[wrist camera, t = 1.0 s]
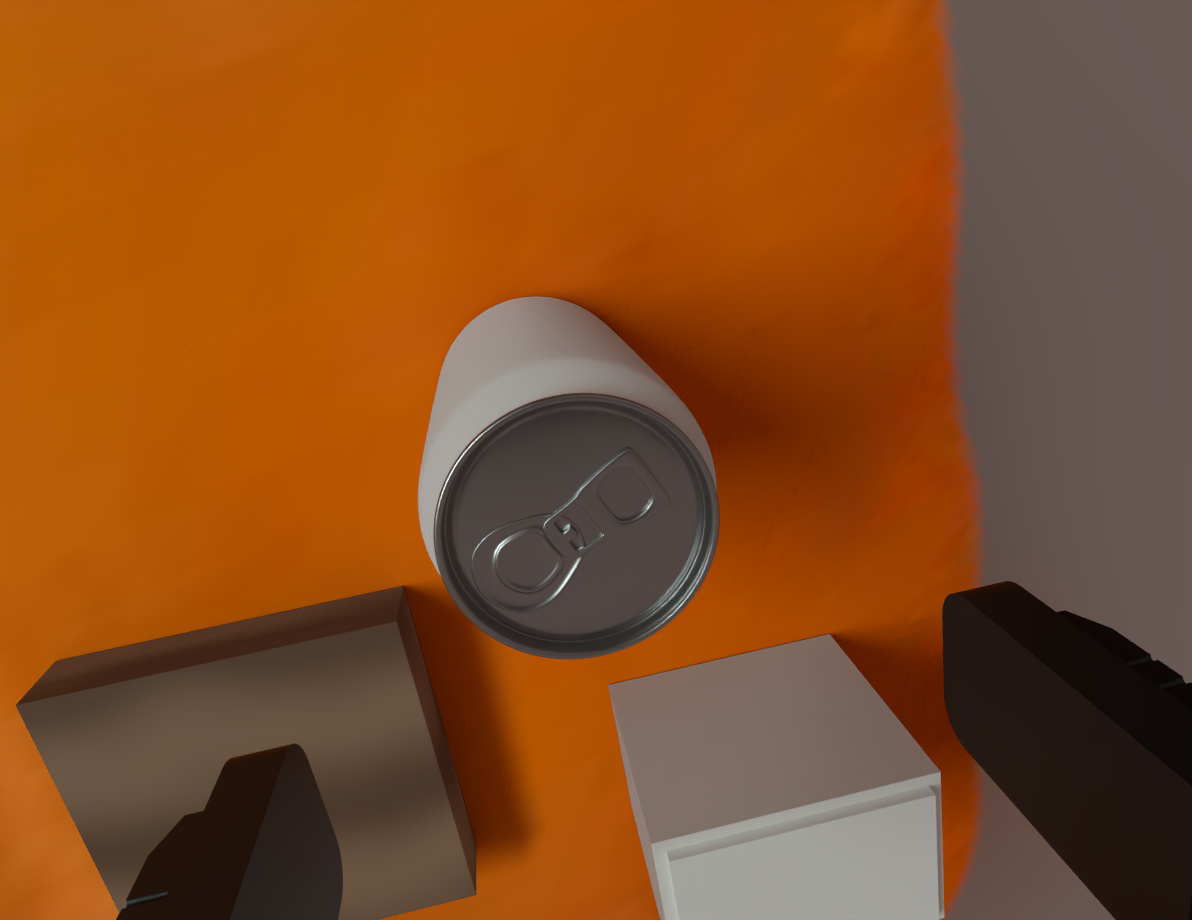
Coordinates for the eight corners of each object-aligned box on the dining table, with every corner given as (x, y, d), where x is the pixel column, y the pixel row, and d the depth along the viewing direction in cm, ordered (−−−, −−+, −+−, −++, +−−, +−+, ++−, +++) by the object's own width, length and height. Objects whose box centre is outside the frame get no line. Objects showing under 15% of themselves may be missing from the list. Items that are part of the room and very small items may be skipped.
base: (55, 661, 27) (15, 705, 25) (403, 585, 28) (396, 621, 26) (175, 917, 31) (150, 976, 29) (475, 843, 32) (476, 894, 30)
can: (397, 374, 26) (335, 513, 14) (555, 252, 25) (618, 298, 14) (519, 516, 28) (548, 733, 17) (667, 406, 27) (799, 553, 16)
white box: (608, 684, 31) (654, 854, 23) (829, 633, 31) (947, 780, 23) (631, 805, 33) (681, 1000, 25) (838, 755, 33) (950, 928, 25)
